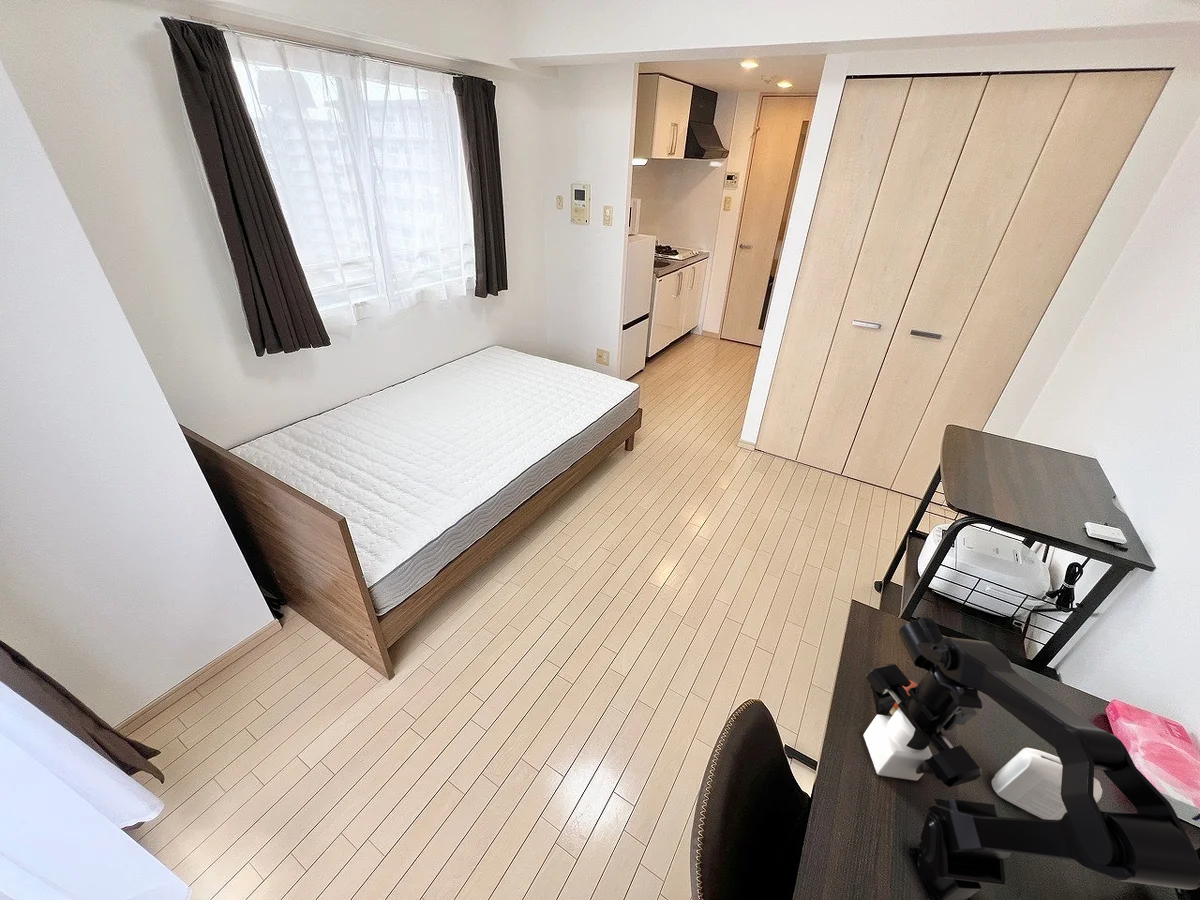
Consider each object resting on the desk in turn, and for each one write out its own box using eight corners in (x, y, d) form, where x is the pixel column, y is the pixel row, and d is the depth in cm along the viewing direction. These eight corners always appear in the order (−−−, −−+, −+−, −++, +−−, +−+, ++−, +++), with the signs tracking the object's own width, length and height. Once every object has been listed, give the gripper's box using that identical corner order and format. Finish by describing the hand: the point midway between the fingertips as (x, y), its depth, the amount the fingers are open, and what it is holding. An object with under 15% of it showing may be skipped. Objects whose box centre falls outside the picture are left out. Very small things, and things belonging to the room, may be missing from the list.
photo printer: (1059, 807, 82) (1105, 772, 76) (1065, 833, 79) (1113, 798, 73) (989, 772, 86) (1026, 736, 80) (992, 795, 83) (1031, 760, 77)
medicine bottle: (900, 739, 90) (928, 703, 84) (918, 781, 84) (949, 746, 78) (862, 734, 91) (886, 698, 84) (876, 775, 85) (904, 739, 78)
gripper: (1032, 745, 71) (979, 792, 80) (932, 637, 86) (897, 686, 95) (974, 762, 68) (925, 809, 77) (881, 647, 83) (849, 697, 92)
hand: (898, 744), depth 85 cm, fingers open, 9 cm apart
